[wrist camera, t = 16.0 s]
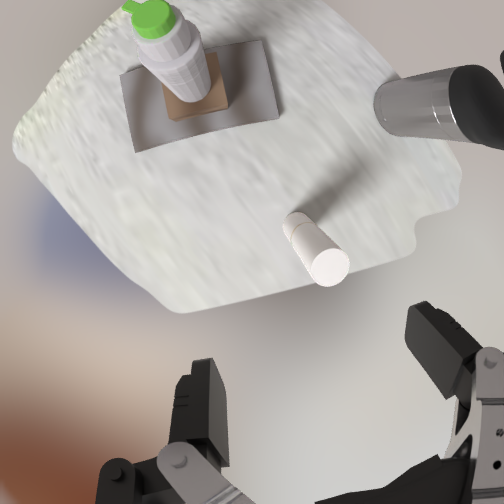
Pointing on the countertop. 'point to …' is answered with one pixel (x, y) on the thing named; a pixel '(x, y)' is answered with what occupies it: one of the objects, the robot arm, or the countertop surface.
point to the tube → (316, 250)
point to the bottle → (170, 48)
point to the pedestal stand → (207, 109)
